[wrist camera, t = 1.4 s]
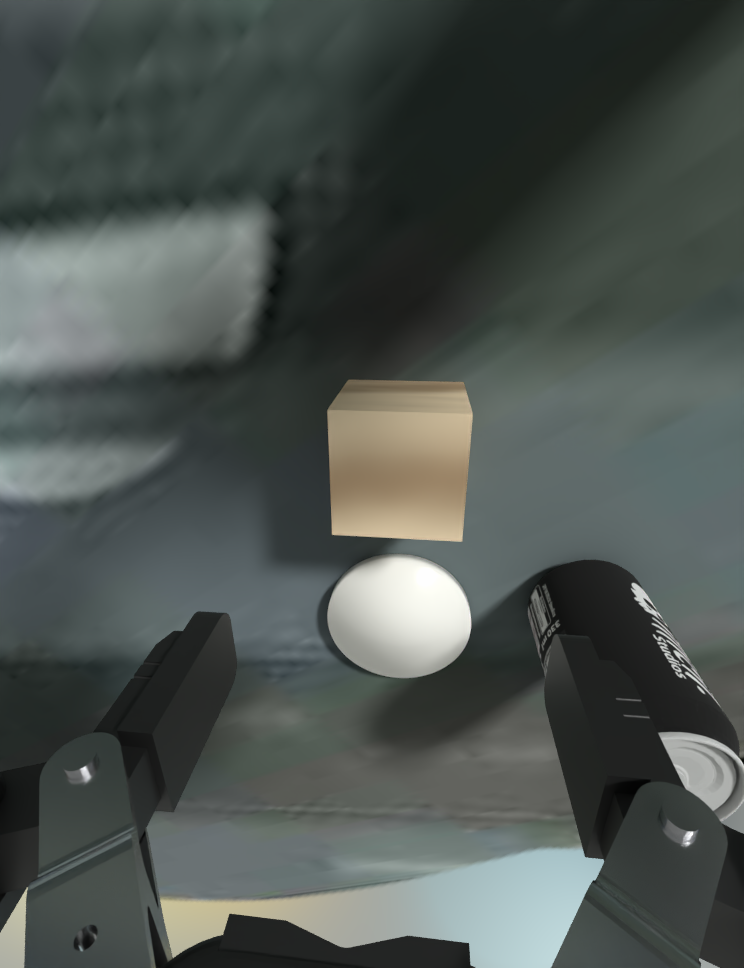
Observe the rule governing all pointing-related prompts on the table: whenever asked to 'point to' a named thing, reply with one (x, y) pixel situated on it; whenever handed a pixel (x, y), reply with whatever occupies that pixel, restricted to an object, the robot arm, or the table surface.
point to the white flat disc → (399, 616)
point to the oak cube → (399, 459)
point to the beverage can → (645, 671)
